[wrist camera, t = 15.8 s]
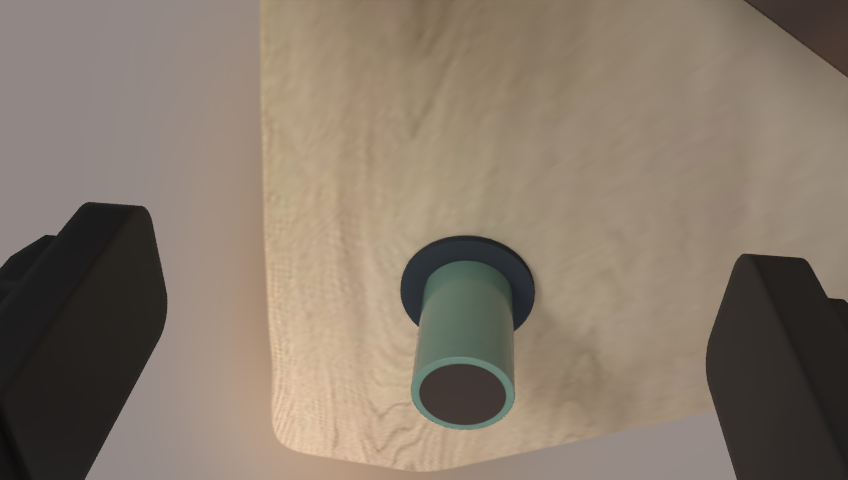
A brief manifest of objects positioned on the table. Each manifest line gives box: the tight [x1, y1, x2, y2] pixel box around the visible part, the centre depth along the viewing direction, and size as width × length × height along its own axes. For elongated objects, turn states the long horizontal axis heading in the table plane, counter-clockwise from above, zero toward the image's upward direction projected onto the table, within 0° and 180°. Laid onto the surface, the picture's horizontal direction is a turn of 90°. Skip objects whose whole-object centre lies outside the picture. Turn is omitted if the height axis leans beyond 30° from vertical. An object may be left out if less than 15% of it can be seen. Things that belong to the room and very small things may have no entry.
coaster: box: [401, 236, 535, 331], centre depth 52 cm, size 9×9×1 cm
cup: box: [411, 260, 515, 430], centre depth 48 cm, size 6×6×9 cm
